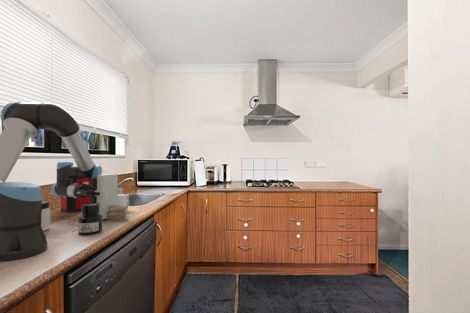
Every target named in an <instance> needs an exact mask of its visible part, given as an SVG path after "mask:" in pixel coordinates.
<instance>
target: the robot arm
mask: <svg viewBox="0 0 470 313" xmlns="http://www.w3.org/2000/svg"><path fill="white" fill-rule="evenodd" d="M0 119H1V123H2V125H3V127H4V129H3V130H2V131H1V133H0V262H5V261H6V262H7V261H14V260H20V259H26V258H29V257H33V256H34V255H39V254H41V253H43V252H44V251H46V250H47V249H48V239H47V238H46V235H45V234H46V233H45V232H44V231H43V229H42V226H41V216H42V201H43V193H42V188H41V186H40V185H38V184H36V183H31V182H25V181H24V182H21V181H7V179H8V177H9V176H10V175H11V172H12V170H13V169H14V166H15V165H16V163H17V161H18V160H19V158H20V156H21V155H22V153H23V151H24V149H25V147H26V146H27V145H28V142H29V140H30V139H31V138H32V139H33V138H34V137H36V136H38V133H39V131H40V130H41V131H45V130H49V131H54V132H55V134H56V135H57V136H58V137H60V138H61V139H62V141H63V143H64V145H65V146H66V148H67V150H68V152H69V154H70V155H71V157H72V159H73V160H74V162H73V161H70V160H69V161H68V160H66V161H62V160H61V161H57V163H56V170H55V171H56V182H55V183H53V185H52V187H51V189H50V191H51V194H52V195H53V196H55V197H60V198H61V197H74V198H76V197H78V198H86V197H87V196H88V197H89V196H91V198H93V197H94V195H95V196H103V197H106V196H107V191H97V187H90V186H89V185H88V184H80V183H73V179H77V178H83V179H93V178H97V176H98V175H103V167H102V165H100V164H96V163H94V160H93V158H92V156H91V154H90V152H89V150H88V148H87V146H86V143H85V142H84V139H83V138H82V135H81V133H80V129H81V128H80V126H79V123H78V121H77V120H76V119H75V117H74V115H72V114H71V113H70V112H69V111H68V110H67V109H65V108H64V107H62V106H61V105H58V104H56V103H52V102H32V101H31V102H30V101H11V102H8V103H7V104H5V105H4V106H3V108H2V109H1V111H0ZM74 163H75V164H74ZM117 193H118V194H123V187H118V192H117Z"/></svg>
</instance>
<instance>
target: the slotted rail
mask: <svg viewBox="0 0 470 313" xmlns="http://www.w3.org/2000/svg"><path fill="white" fill-rule="evenodd" d="M128 207H129V206H128V205H126V206H121V205H112V206H110V211H107V218H105V219H104V220H109V221H110V220H112V221H127V220H128V219H129V218H128V217H129V216H128V215H129V214H128V211H129V210H128V209H129V208H128Z"/></svg>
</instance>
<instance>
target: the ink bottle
mask: <svg viewBox="0 0 470 313" xmlns="http://www.w3.org/2000/svg"><path fill="white" fill-rule="evenodd" d="M99 212H100V203H87V204H82V210H81V212H80V213H81V215H80V216H79V217H78V221H77V224H78V228H77V231H78V232H77V233H78V234H79V235H83V236H87V235H88V236H89V235H95V234H99V233H101V232H102V231H103V219H102V215H100V214H99Z"/></svg>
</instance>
